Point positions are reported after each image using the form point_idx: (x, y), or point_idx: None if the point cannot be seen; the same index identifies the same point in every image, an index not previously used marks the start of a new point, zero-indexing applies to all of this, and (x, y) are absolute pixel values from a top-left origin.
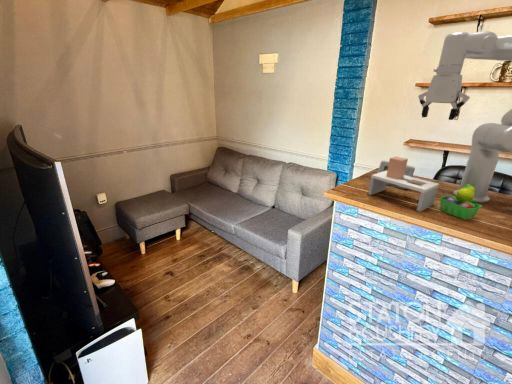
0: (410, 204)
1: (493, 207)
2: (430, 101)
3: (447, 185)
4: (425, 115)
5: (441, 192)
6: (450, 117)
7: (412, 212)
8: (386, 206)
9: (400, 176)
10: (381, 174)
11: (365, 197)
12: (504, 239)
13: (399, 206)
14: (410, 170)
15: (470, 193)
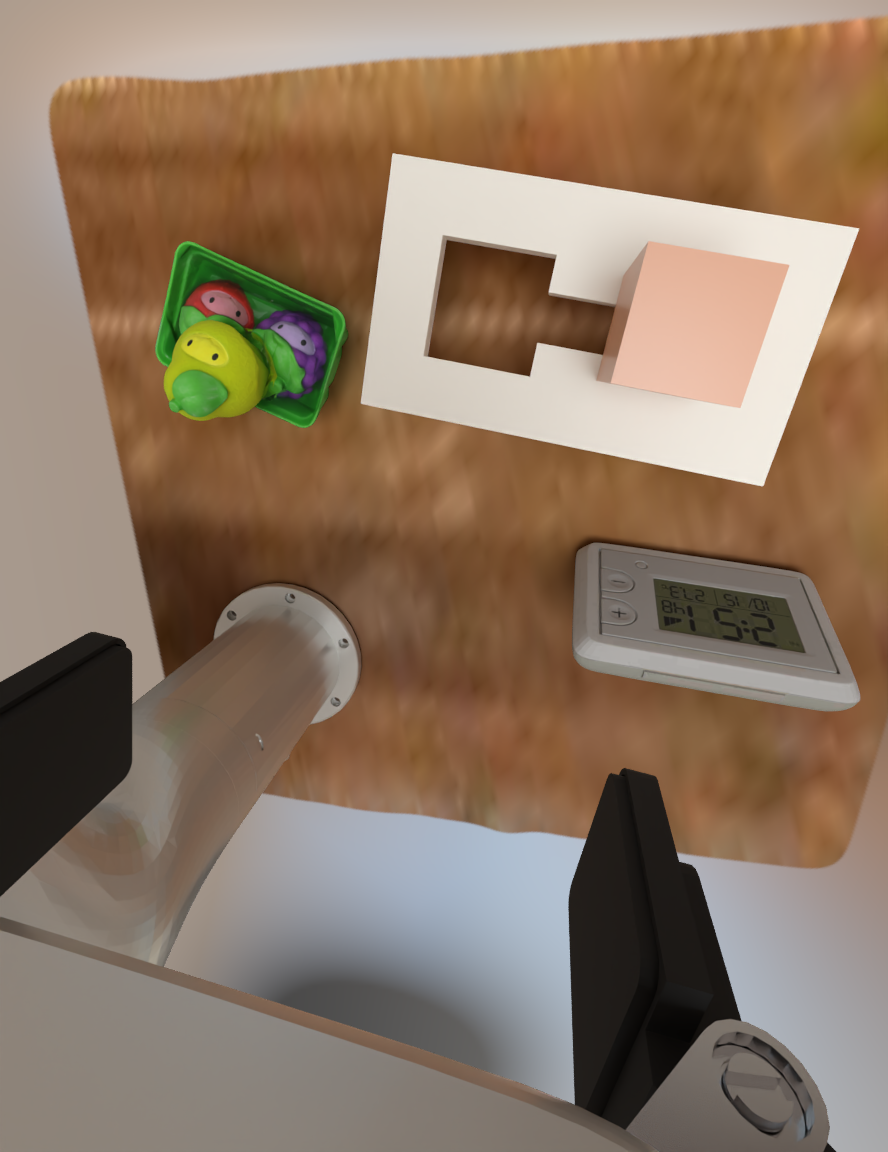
0: (499, 291)
1: (188, 573)
2: (503, 1093)
3: (414, 776)
4: (594, 845)
5: (412, 638)
6: (73, 650)
7: (457, 153)
8: (613, 117)
9: (615, 314)
10: (777, 322)
11: (788, 174)
12: (64, 160)
13: None
14: (596, 623)
15: (180, 339)
